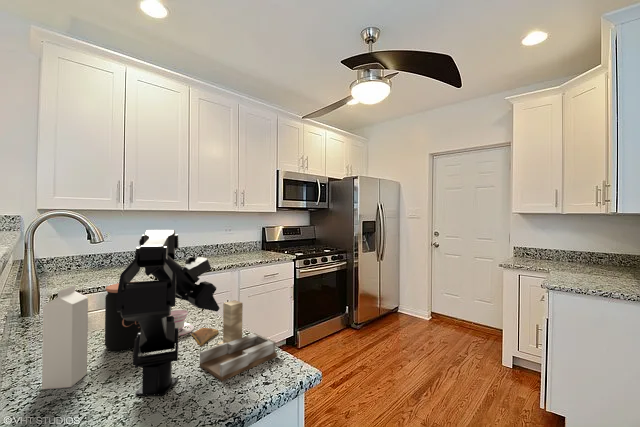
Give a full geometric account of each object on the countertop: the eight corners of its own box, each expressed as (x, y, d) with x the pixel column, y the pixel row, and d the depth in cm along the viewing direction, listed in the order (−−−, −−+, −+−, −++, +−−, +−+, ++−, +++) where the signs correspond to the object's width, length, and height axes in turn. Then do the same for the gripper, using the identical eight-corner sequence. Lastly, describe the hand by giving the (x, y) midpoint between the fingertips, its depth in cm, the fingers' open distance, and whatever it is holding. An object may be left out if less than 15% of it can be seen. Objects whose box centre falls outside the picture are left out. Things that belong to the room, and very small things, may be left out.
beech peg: (229, 353, 85) (229, 307, 86) (217, 346, 90) (217, 303, 90) (247, 345, 90) (248, 302, 90) (235, 339, 94) (236, 298, 95)
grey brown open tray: (221, 381, 71) (222, 365, 71) (199, 366, 78) (199, 351, 78) (276, 356, 83) (277, 342, 83) (253, 345, 91) (253, 332, 91)
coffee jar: (122, 355, 84) (123, 290, 84) (95, 349, 87) (96, 287, 87) (154, 340, 94) (155, 282, 94) (129, 335, 97) (130, 280, 97)
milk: (87, 374, 74) (89, 284, 74) (71, 387, 68) (73, 290, 68) (59, 375, 73) (61, 284, 73) (40, 390, 67) (43, 291, 67)
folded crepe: (200, 348, 89) (200, 342, 90) (178, 345, 91) (178, 339, 91) (219, 334, 100) (219, 328, 100) (199, 332, 102) (199, 327, 102)
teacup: (199, 331, 101) (199, 313, 102) (161, 341, 93) (161, 321, 93) (187, 322, 110) (187, 305, 110) (150, 330, 102) (150, 312, 102)
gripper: (209, 252, 74) (246, 288, 82) (176, 245, 86) (211, 277, 95) (176, 289, 68) (220, 324, 77) (146, 276, 81) (186, 308, 89)
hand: (209, 306), depth 84 cm, fingers open, 9 cm apart
